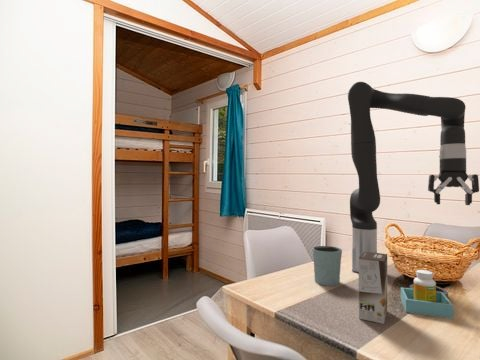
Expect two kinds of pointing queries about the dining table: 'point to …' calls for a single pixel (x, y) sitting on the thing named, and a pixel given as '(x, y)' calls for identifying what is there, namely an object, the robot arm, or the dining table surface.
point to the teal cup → (327, 265)
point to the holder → (436, 290)
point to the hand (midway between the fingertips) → (452, 204)
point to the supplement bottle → (424, 286)
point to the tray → (427, 304)
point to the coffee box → (373, 287)
